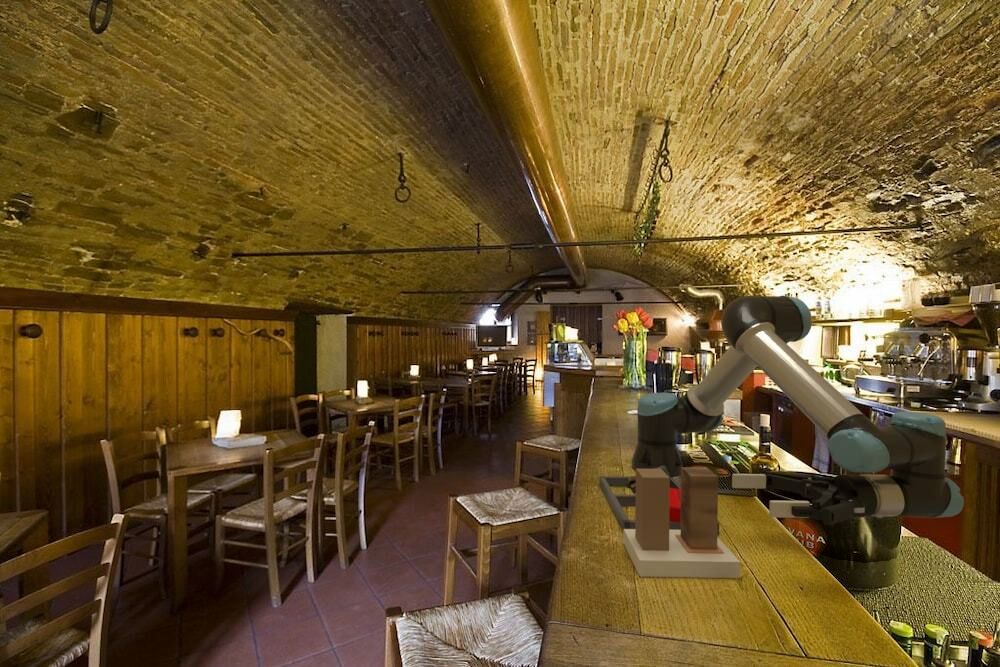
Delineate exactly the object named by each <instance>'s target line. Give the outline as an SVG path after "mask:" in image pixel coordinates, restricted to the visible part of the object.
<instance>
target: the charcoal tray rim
mask: <svg viewBox="0 0 1000 667" xmlns="http://www.w3.org/2000/svg"><path fill="white" fill-rule="evenodd" d="M632 476H633V475H631V476H630V475H629V476H628V475H625V476H624V475H599V486H601V487H600V489H601V490H602V492H603V494H604V497H605V498H606V500H607V502H608V504H609V505H610V509H612V512H613V513H614V516H615V517H616V520H617V519H618V520H617V522H618V523H619V525H620V527H621V529H622V531H623V530H624V529H635V519H629V518H628V516H627V514H626V513H625V511H624V509H623V507H635V504H636V494H624V493H623V494H619V493H618V494H616V493H614V491H613V490H612V488H611V487H628V486H627V485H626V480H627V479H628V478H630V477H632ZM634 476H635V475H634ZM634 476H633V477H634ZM670 488H677V489H680V490H681V483H679V482H678V481H677V479H675V478H674V476H670ZM669 530H681V523H679V522H671V521H669ZM719 535H720V523H719V522H718V530H717V536H719Z"/></svg>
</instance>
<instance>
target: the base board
mask: <svg viewBox="0 0 1000 667" xmlns="http://www.w3.org/2000/svg"><path fill="white" fill-rule="evenodd" d="M635 476H636V494H635V495H636V504H635V506H634V507H635V511H634V512H635V519H634V520H635V529H624V530H623V529H622V532H623V533H622V534H623V540H622V541H623V545H624V547H625V550H626V551H627V554H628V555H629V557H630V560H631V561H632V564H633V566H634V568H635V570H636V572H637V573H638V576H639V577H640V578H641V577H642V578H645V577H646V578H647V577H648V578H649V577H651V578H652V577H653V578H654V577H655V578H695V579H697V578H703V579H704V578H705V579H707V578H710V579H741V560H739V558H737V557H736V555H734V553H733V552H732V551H731V550H730V549H729V548H728V547H727V546H726V545H725V544H724V543H723V542H722V541H721V539H720V538H719V537H718V536H717V550H708V549H690V548H689V547H688V545H687V544H686V543H685V541H684V540H683V539H682V538H681V536H680V535H681V530H669V510H670V477H671V476H670V477H669V476H668V475H667V474H666V473H665V472H664V471H663V470H662V469H636V470H635Z"/></svg>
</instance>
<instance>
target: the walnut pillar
mask: <svg viewBox="0 0 1000 667" xmlns="http://www.w3.org/2000/svg"><path fill="white" fill-rule="evenodd" d="M680 485H681V535H680V536H681V538H682V539H683V540H684V541H685V543H686V544H687V545H688V547H689V548H690V549H708V550H717V537H718V535H717V530H718V523H719V519H718V518H719V517H718V516H719V515H718V514H719V513H718V511H719V510H718V509H719V506H718V505H719V476H718V475H717V474H716V473H714V472H713V471H712V470H711V469H709V468H708V467H705V466H704V467H697V466H696V467H695V466H694V467H693V466H692V467H689V466H688V467H686V466H684V467H681V474H680Z"/></svg>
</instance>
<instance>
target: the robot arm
mask: <svg viewBox="0 0 1000 667" xmlns="http://www.w3.org/2000/svg"><path fill="white" fill-rule="evenodd" d="M720 322H721V323H720V325H721V330H722V333H723V336H724V337H725V339H726V340H727V342H728V343H729V344H730V345H729V347H728V348H727V350H725V352H724V353H723V354H722V356H721V357H720V358H719V359H718V360H717V362H716V363H715V364H714V365H713V366H712V368H711V369H710V371H708V373H707V374H706V376H704V377H703V379H702V380H701V382H699V383H698V385H697V384H696V385H692V386H690V387H689V388H688V389H687V390H686V392H685V393H684V394H683V395H681V396H677V395H676V394H675V393H672V392H652V393H647V394H644V395H642V396H641V397H640V398H639V399H638V402H637V403H638V404H637V444H636V446H635V449H634V453H633V455H632V458H631V467H632V469H633V470H635V471H636V469H654V468H657V467H660V466H662V465H663V466H664V465H666V470H667V471H668V472H669V475H670V477H674V476H678V475H681V467H683V466H684V464H683V461H682V458H681V455H680V451H679V449H678V446H677V445H678V444H677V443H678V435H682V434H693V433H694V434H695V433H707V432H710V431H714V430H716V429H718V428H719V427H720V426H721V424H722V422H723V421H724V416H723V415H725V406H724V403H725V402H726V401H727V400H728V399H729V398H730V397H731V396H732V395H733V394H734V392H735V391H736V390H737V389H738V388H739V386H741V385H742V384H743V383H744V381H745V380H746V379H747V378H748V377H749V376H750V375H751V373H753V372H754V371H755V369H756V368H757V367H758V368H759V369H760V370H761V371H762V372H763V374H765V376H767V377H768V379H770V380H771V381H772V382H773V383H774V384H775V385H776V387H778V388H779V389H780V390H781V391H782V393H784V395H786V397H788V399H789V400H790V401H791V402H793V405H795V406H796V407H797V408H798V409H799V410H800V411H801V412H802V413H803V414H804V416H806V417H807V419H809V420H810V421H811V423H813V425H814V426H816V427H817V428H818V430H820V431H821V433H822V434H823V435H824V436H825V437H826V438H828V444H827V445H828V446H827V448H828V452H829V453H830V456H831V459H832V460H833V462H834V463H835V464H836V465H838V467H840V468H842V469H843V470H845V471H847V472H852V473H858V474H837V475H835V476H834V477H832V480H831V481H830V482H828V481H826V480H821V479H820V480H817V476H815V475H801V474H793V473H792V474H791V473H786V472H780V471H771V470H765V469H761V470H760V473H731V474H732V476H731V478H732V479H731V487H732V488H734V489H762V490H765V491H766V489H767V488H771V489H776V490H781V491H785V492H790V493H794V494H798V495H801V497H803V498H806V499H811V502H810V501H808V500H769V516H770V517H771V518H785V519H786V518H791V519H792V518H793V519H794V518H797V519H798V518H801V519H803V518H805V519H810V518H811V519H813V520H815V521H822V524H824V525H826V526H831V525H835V524H839V523H841V522H844V521H846V520H847V521H848V520H850V519H854V518H864V517H870V516H871V517H876V518H877V519H882V518H883V517H893V518H894V517H897V518H898V517H903V518H904V517H905V518H906V517H907V518H926V519H936V518H949V517H954V516H956V515H958V514H960V513H961V511H962V510H963V508H964V505H965V503H964V501H965V500H964V496H962V494H961V488H960V487H959V486H958V484H956V483H955V482H954V481H953V480H952V479H950V478H948V477H946V456H947V455H946V453H947V440H948V437H947V430H946V422H945V420H944V419H943V418H942V417H940V416H937V415H935V414H930V413H924V412H917V411H915V412H913V411H896V412H894V413H893V414H892V415H891V419H890V422H889V425H883V426H877V425H876V424H875V423H874V422H873V421H872V420H871V419H869V417H867V416H866V415H865V414H863V412H861V410H860V409H858V408H857V407H856V406H855V405H854V404H853V402H850V401H849V400H848V399H847V398H846V397H845V396H844V395H843V394H842V393H841V392H840V391H839V390H838V389H836V387H834V385H832V384H831V383H830V382H828V380H827V379H826V378H825V377H823V376H822V375H821V374H820V373H819V372H818V371H817V370H816V369H815V368H814V367H812V366H811V365H810V364H809V363H808V362H807V361H806V360H805V359H804V358H803V357H802V356H800V355H799V353H797V352H796V351H795V350H794V349H792V347H791V346H790V345H788V344H789V343H795V342H798V341H801V340H803V339H805V338H806V336H808V334H809V333H810V332H811V329H812V324H813V320H812V313H811V310H810V308H809V307H808V305H807V304H806V303H805V302H804V301H803V300H801V299H799V298H797V297H793V296H787V295H779V296H778V295H771V296H770V295H745V296H740V297H738V298H735V299H733V300H732V301H731V302H730V303H728V305H726V307H725V308H724V311H723V313H722V315H721V320H720ZM885 470H890V474H872V473H878V472H881V471H885ZM859 473H860V474H859ZM861 473H862V474H861ZM863 473H864V474H863Z"/></svg>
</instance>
